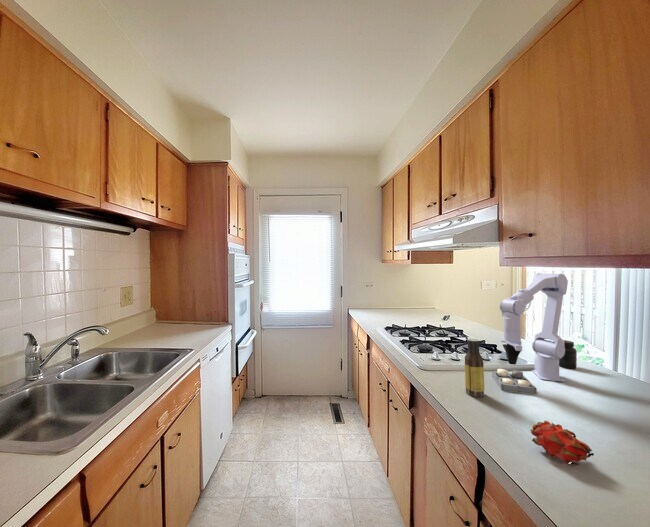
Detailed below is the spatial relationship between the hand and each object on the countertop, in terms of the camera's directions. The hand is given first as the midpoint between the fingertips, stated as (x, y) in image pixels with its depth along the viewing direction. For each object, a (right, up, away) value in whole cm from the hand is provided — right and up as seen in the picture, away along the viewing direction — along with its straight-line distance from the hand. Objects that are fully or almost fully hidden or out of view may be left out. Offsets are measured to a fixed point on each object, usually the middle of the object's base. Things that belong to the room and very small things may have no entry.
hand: (512, 363), depth 109 cm
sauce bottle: (-19, -9, -7) cm, 22 cm away
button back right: (-1, -6, +4) cm, 7 cm away
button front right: (-3, -7, -2) cm, 8 cm away
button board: (0, -8, 0) cm, 8 cm away
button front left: (+2, -7, -4) cm, 8 cm away
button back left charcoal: (+4, -6, +2) cm, 7 cm away
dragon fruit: (-16, -8, -41) cm, 45 cm away
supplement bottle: (+39, -9, +19) cm, 44 cm away
